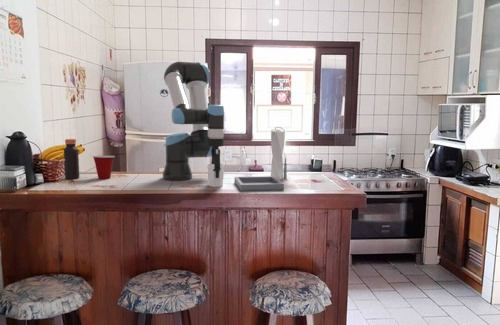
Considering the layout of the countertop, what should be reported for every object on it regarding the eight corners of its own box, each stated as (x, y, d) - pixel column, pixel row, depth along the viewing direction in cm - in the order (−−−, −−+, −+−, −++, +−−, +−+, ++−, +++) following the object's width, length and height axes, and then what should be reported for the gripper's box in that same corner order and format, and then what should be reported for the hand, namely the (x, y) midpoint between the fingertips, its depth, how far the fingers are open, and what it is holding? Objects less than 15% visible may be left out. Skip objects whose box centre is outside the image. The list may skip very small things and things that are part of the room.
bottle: (75, 179, 207) (74, 140, 204) (62, 179, 207) (60, 139, 204) (81, 177, 213) (80, 138, 210) (68, 177, 213) (66, 138, 211)
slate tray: (234, 182, 205) (234, 176, 204) (273, 182, 208) (273, 176, 208) (240, 191, 185) (240, 184, 185) (283, 190, 189) (283, 183, 188)
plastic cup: (119, 176, 216) (118, 154, 214) (109, 180, 206) (108, 156, 204) (100, 176, 218) (99, 153, 216) (89, 179, 208) (88, 156, 206)
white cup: (221, 187, 192) (221, 166, 191) (205, 186, 194) (205, 165, 193) (225, 184, 200) (225, 164, 199) (210, 183, 202) (210, 163, 200)
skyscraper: (282, 181, 211) (284, 127, 207) (267, 180, 214) (268, 126, 210) (287, 178, 219) (288, 126, 215) (272, 177, 222) (273, 125, 218)
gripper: (226, 140, 182) (226, 187, 185) (220, 135, 207) (220, 177, 210) (209, 140, 181) (209, 187, 184) (205, 135, 205) (206, 177, 208)
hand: (215, 182), depth 197 cm, fingers open, 13 cm apart
